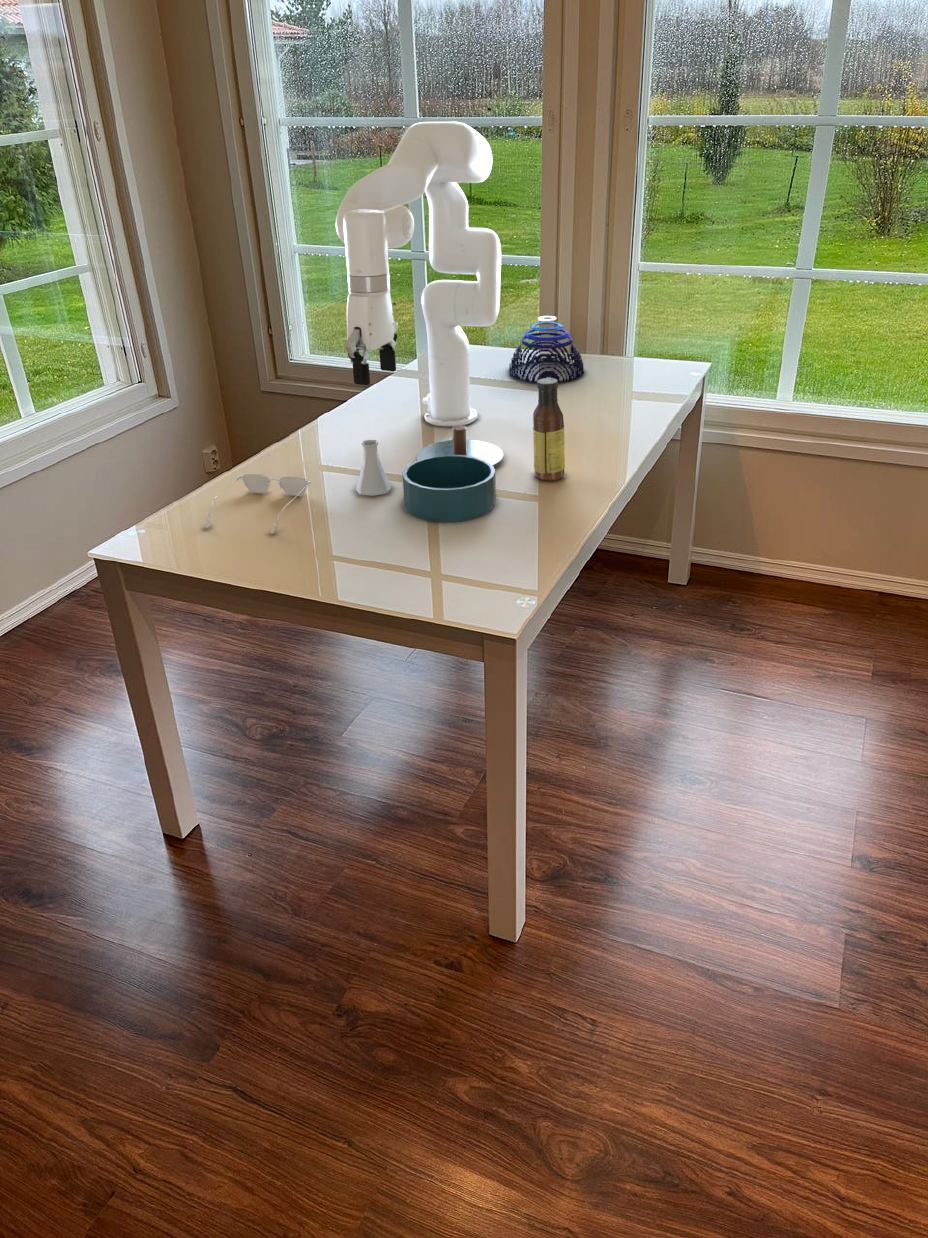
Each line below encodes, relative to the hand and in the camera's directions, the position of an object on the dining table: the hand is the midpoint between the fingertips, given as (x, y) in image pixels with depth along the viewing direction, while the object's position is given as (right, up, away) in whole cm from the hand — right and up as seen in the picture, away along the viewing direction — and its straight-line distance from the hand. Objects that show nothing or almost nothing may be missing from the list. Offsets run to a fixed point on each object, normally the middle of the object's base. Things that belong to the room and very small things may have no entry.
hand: (375, 377), depth 180 cm
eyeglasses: (-23, -26, +2) cm, 34 cm away
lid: (+16, -11, +23) cm, 30 cm away
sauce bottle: (+34, -17, +14) cm, 41 cm away
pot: (+14, -24, +4) cm, 28 cm away
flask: (-1, -20, +10) cm, 23 cm away
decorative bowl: (+39, +21, +76) cm, 88 cm away
